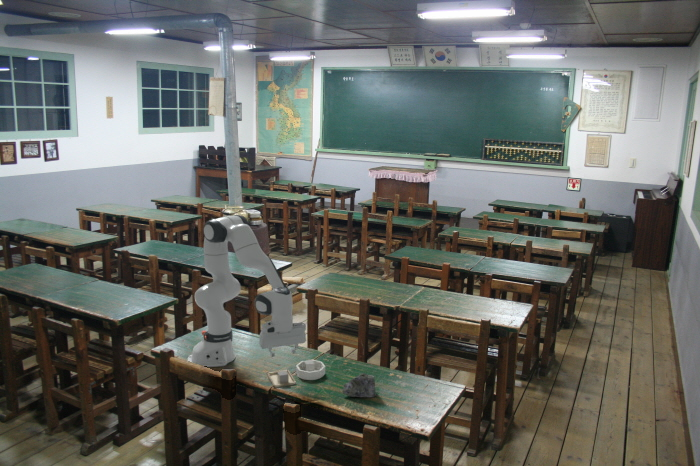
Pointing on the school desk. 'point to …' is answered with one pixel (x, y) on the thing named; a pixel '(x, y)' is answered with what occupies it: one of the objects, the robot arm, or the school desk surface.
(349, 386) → the mineral rock
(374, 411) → the school desk surface
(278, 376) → the grey rectangular block
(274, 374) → the tray
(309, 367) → the grey cube
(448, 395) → the school desk surface
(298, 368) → the bowl
